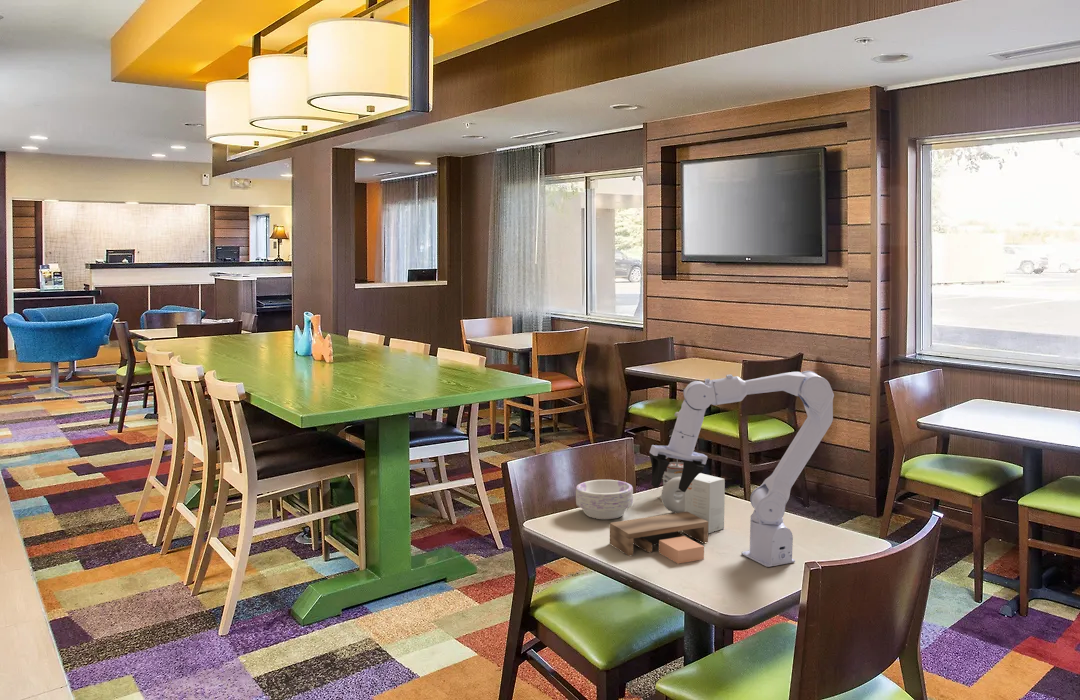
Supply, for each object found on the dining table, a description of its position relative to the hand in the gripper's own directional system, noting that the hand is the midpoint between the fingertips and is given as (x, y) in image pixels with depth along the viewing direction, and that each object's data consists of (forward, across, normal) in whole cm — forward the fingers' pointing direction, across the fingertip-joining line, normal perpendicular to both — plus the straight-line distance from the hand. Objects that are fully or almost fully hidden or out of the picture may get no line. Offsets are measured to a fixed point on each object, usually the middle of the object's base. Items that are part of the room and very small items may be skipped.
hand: (668, 488), depth 196 cm
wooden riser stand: (+16, -6, -5) cm, 17 cm away
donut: (+14, -24, -24) cm, 37 cm away
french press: (+14, -30, -37) cm, 50 cm away
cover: (+14, -6, +4) cm, 16 cm away
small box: (+12, -23, -11) cm, 28 cm away
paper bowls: (+20, -5, -30) cm, 37 cm away
